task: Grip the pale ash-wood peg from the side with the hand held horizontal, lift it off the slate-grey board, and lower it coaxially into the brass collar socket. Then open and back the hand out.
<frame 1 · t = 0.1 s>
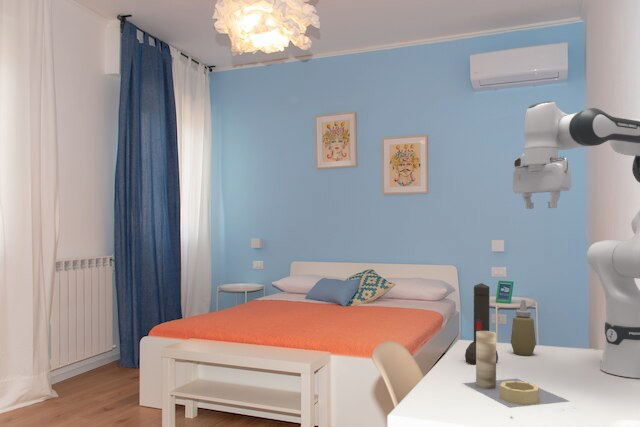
hand: (540, 208, 154), 48 cm above the table, tool pointing down, fingers open, 8 cm apart
ash peg: (486, 386, 143), point 1 cm above the table, touching socket board
socket board: (513, 395, 138), on the table
flashlight: (481, 363, 171), on the table
squeeze bottle: (523, 354, 184), on the table
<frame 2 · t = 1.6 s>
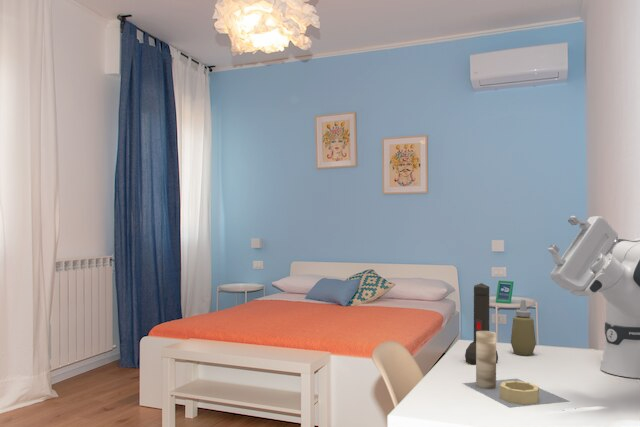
hand: (560, 232, 134), 42 cm above the table, tool pointing upward, fingers open, 8 cm apart
nothing on the table moved.
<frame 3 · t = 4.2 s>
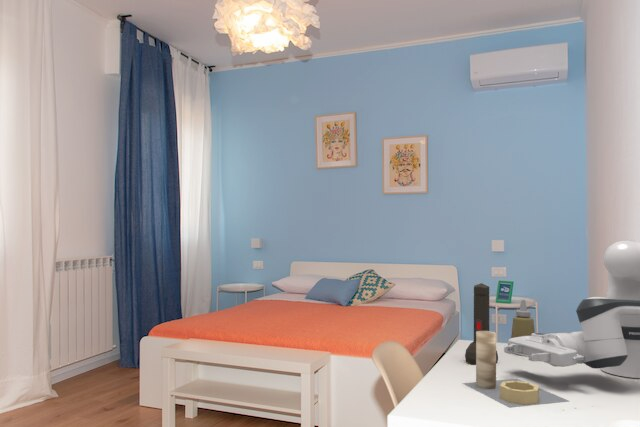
hand: (517, 353, 146), 9 cm above the table, tool horizontal, fingers open, 8 cm apart
nothing on the table moved.
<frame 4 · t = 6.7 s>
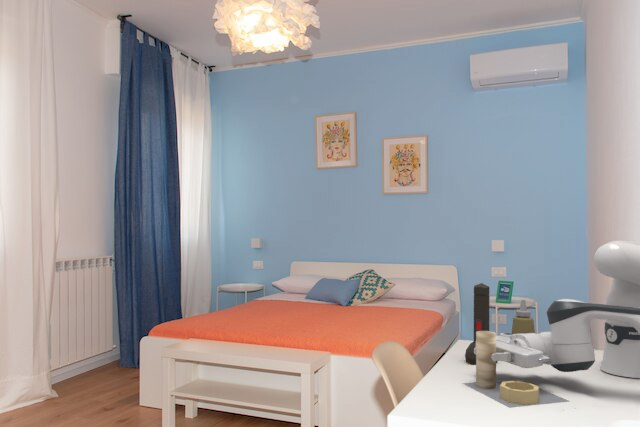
hand: (483, 354, 143), 9 cm above the table, tool horizontal, fingers closed on ash peg, 5 cm apart
ash peg: (486, 386, 143), point 1 cm above the table, touching gripper, socket board
everything else where it was.
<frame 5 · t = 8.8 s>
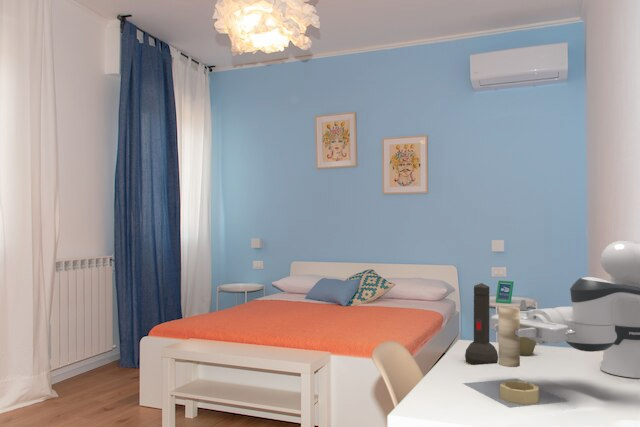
hand: (506, 330, 136), 17 cm above the table, tool horizontal, fingers closed on ash peg, 5 cm apart
ash peg: (509, 364, 136), point 9 cm above the table, touching gripper
everything else where it was.
when the fingers open (11 cm above the table, at t = 11.0 s): ash peg drops 1 cm, resting on socket board.
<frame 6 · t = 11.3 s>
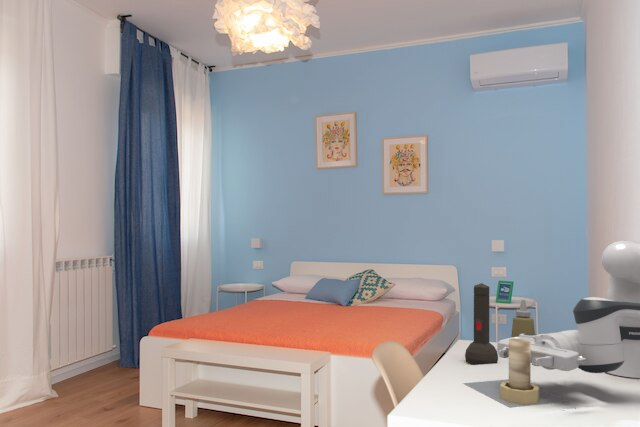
hand: (517, 358, 133), 11 cm above the table, tool horizontal, fingers open, 8 cm apart
ash peg: (519, 398, 133), point 1 cm above the table, touching socket board
everything else where it was.
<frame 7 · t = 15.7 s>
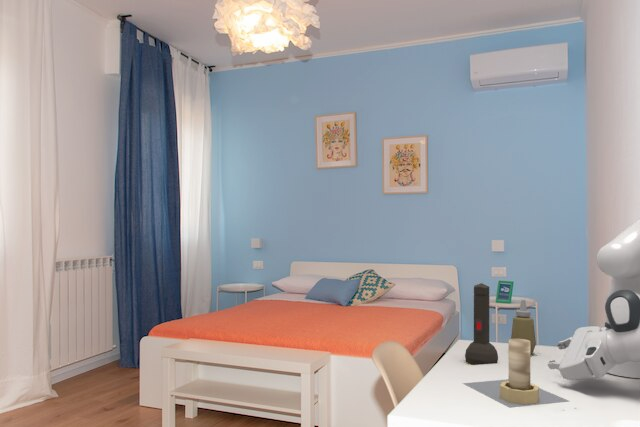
hand: (554, 355, 154), 7 cm above the table, tool tilted 70°, fingers open, 8 cm apart
nothing on the table moved.
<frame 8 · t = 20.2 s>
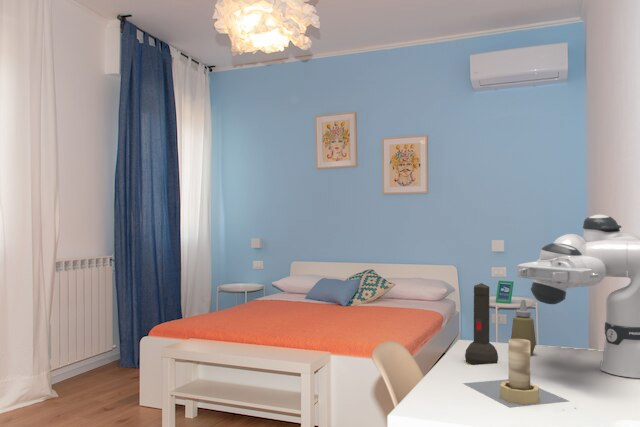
hand: (536, 274, 147), 30 cm above the table, tool horizontal, fingers open, 8 cm apart
nothing on the table moved.
at the end: ash peg 0.0 cm from the target spot on the socket board, point 1.0 cm above the socket board's base; ash peg tilted 0°; the gripper is holding nothing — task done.
